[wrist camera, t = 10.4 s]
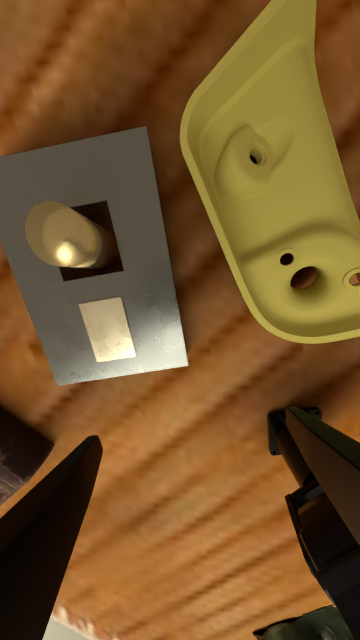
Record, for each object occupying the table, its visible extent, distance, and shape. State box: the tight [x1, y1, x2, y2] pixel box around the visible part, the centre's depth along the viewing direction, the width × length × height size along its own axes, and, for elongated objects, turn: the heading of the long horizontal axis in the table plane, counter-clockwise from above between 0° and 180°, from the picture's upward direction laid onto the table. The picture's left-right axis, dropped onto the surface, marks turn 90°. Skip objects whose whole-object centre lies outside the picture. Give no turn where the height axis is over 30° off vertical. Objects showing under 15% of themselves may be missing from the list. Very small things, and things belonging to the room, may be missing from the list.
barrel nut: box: [25, 201, 117, 269], centre depth 15 cm, size 4×4×6 cm
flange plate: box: [0, 126, 188, 386], centre depth 17 cm, size 20×14×3 cm
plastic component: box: [180, 0, 360, 344], centre depth 15 cm, size 20×8×10 cm
